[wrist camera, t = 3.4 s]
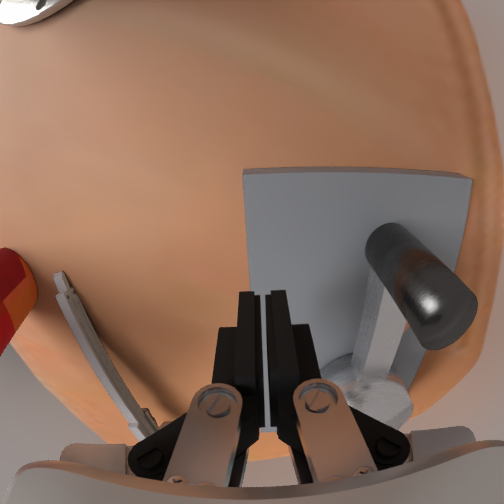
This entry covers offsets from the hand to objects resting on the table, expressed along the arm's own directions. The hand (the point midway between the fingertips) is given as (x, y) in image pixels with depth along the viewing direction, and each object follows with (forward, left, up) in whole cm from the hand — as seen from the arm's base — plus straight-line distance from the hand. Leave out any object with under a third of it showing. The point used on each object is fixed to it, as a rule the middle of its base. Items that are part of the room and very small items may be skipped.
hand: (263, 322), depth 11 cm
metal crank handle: (+6, +6, -4) cm, 10 cm away
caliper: (+11, -12, -7) cm, 17 cm away
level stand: (+6, +6, -6) cm, 11 cm away
